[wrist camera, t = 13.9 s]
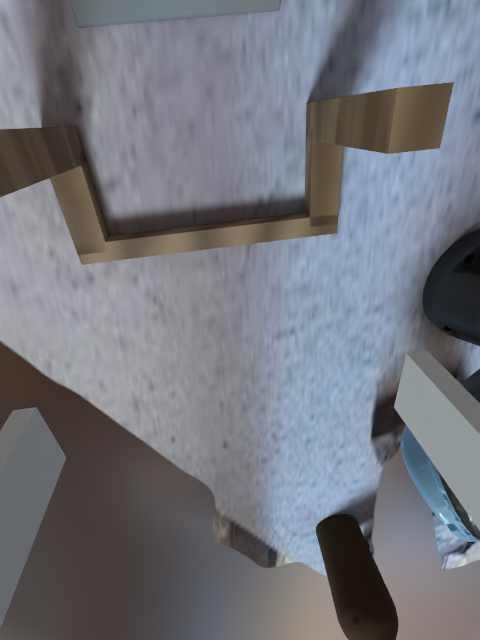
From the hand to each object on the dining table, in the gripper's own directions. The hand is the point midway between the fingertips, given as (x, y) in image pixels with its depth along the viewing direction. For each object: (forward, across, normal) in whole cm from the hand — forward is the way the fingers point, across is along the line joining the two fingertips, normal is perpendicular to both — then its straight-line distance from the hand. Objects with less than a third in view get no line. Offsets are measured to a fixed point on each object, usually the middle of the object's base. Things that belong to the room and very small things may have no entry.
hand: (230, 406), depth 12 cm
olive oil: (+27, -19, +70) cm, 77 cm away
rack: (+27, 0, -4) cm, 27 cm away
